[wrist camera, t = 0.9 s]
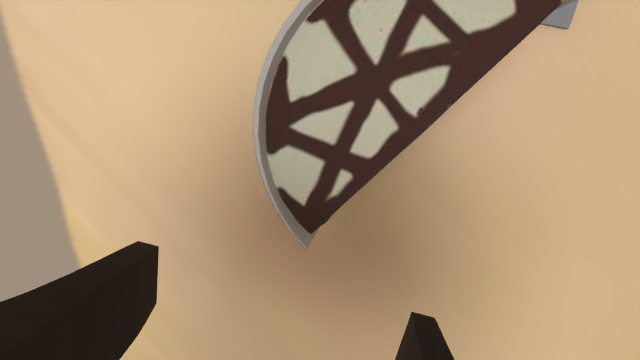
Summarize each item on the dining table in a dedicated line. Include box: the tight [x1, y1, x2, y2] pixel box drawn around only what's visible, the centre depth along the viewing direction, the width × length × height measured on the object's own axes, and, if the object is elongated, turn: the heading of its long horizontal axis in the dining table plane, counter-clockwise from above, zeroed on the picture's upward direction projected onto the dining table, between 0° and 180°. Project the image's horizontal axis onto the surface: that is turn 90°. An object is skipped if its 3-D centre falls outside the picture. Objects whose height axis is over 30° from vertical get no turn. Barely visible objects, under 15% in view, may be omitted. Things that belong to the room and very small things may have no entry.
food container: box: [253, 0, 576, 250], centre depth 19 cm, size 12×6×10 cm, turn 136°
